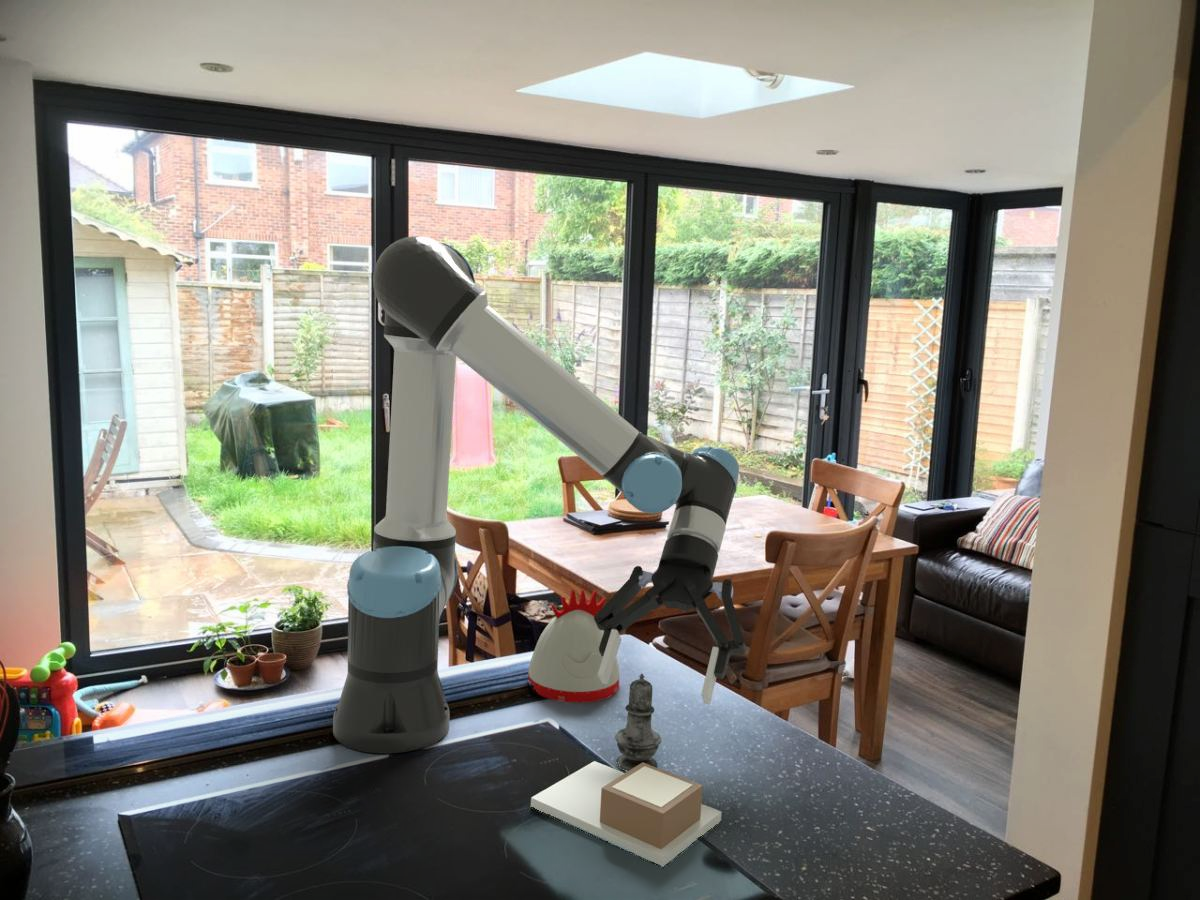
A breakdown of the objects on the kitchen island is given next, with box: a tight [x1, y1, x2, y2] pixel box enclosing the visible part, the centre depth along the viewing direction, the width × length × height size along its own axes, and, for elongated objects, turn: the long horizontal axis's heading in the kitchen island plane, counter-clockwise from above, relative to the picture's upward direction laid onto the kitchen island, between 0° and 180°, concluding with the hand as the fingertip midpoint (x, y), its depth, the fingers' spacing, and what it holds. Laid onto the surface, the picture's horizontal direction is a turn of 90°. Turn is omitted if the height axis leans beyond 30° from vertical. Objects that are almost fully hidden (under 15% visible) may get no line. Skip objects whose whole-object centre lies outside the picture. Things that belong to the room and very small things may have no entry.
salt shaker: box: [614, 673, 662, 771], centre depth 119 cm, size 6×6×12 cm
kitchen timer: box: [527, 587, 620, 703], centre depth 144 cm, size 14×14×15 cm
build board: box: [530, 760, 722, 866], centre depth 108 cm, size 18×12×5 cm, turn 53°
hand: (653, 689), depth 120 cm, fingers open, 13 cm apart
